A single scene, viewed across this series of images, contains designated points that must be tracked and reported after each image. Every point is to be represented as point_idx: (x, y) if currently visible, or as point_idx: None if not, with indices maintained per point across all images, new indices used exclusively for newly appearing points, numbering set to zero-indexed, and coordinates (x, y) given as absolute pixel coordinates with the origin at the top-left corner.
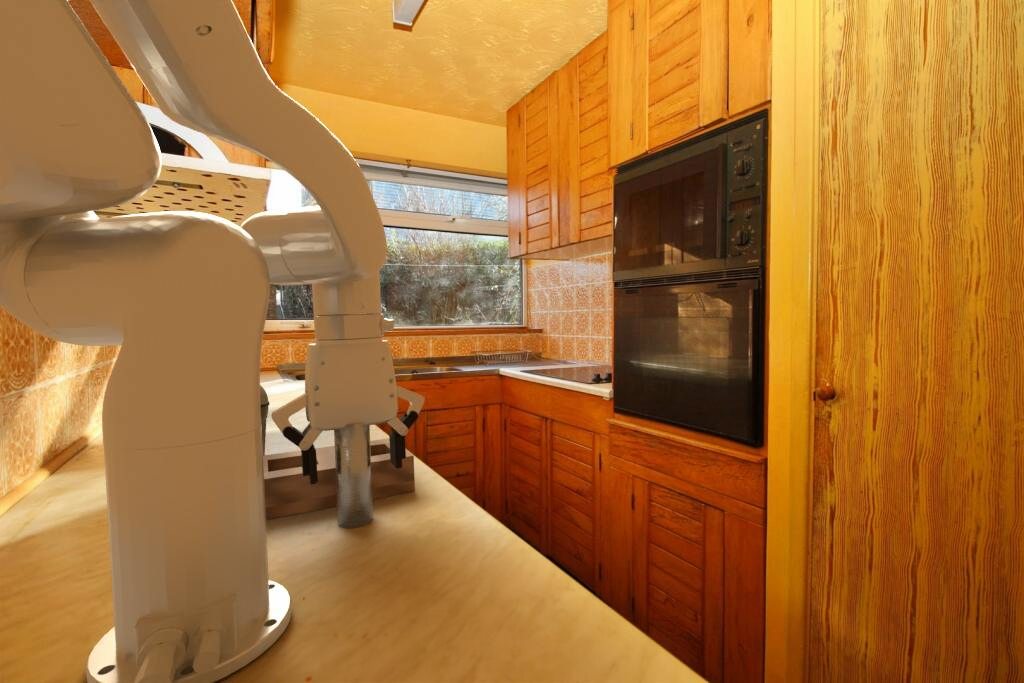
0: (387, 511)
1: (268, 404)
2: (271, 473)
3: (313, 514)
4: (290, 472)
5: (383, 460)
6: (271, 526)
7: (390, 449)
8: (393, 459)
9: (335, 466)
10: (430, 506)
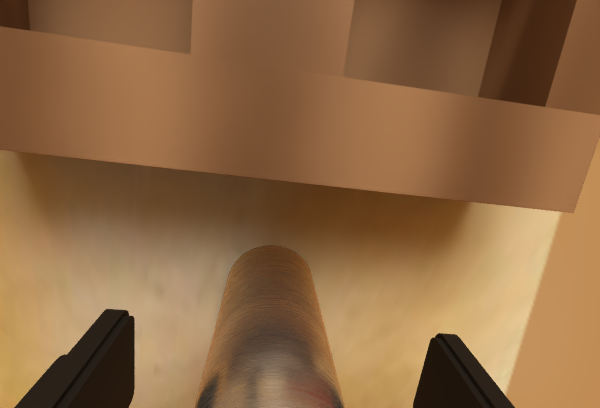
0: (355, 274)
1: None
2: None
3: (183, 175)
4: (47, 109)
5: (450, 198)
6: (67, 190)
7: (458, 382)
8: (430, 397)
9: (197, 396)
10: (449, 305)
